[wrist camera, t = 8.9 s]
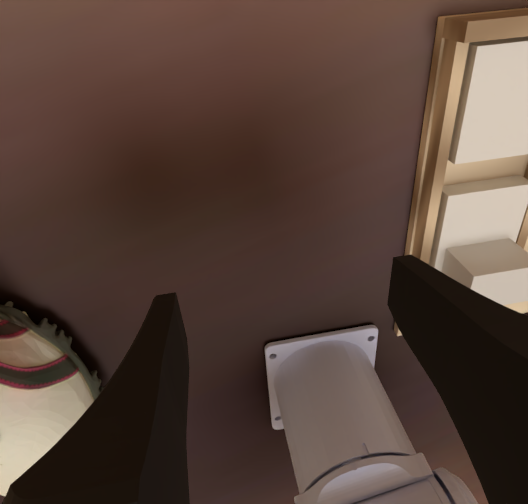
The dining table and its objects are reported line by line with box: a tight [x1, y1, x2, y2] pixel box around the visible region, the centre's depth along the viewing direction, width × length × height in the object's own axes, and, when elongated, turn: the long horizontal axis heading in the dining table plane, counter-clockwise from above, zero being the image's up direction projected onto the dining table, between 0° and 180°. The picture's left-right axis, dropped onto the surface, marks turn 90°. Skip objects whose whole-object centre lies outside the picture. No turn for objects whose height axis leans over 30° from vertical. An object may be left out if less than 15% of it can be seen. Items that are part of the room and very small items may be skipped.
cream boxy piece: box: [429, 36, 528, 305], centre depth 22 cm, size 13×5×4 cm, turn 4°
